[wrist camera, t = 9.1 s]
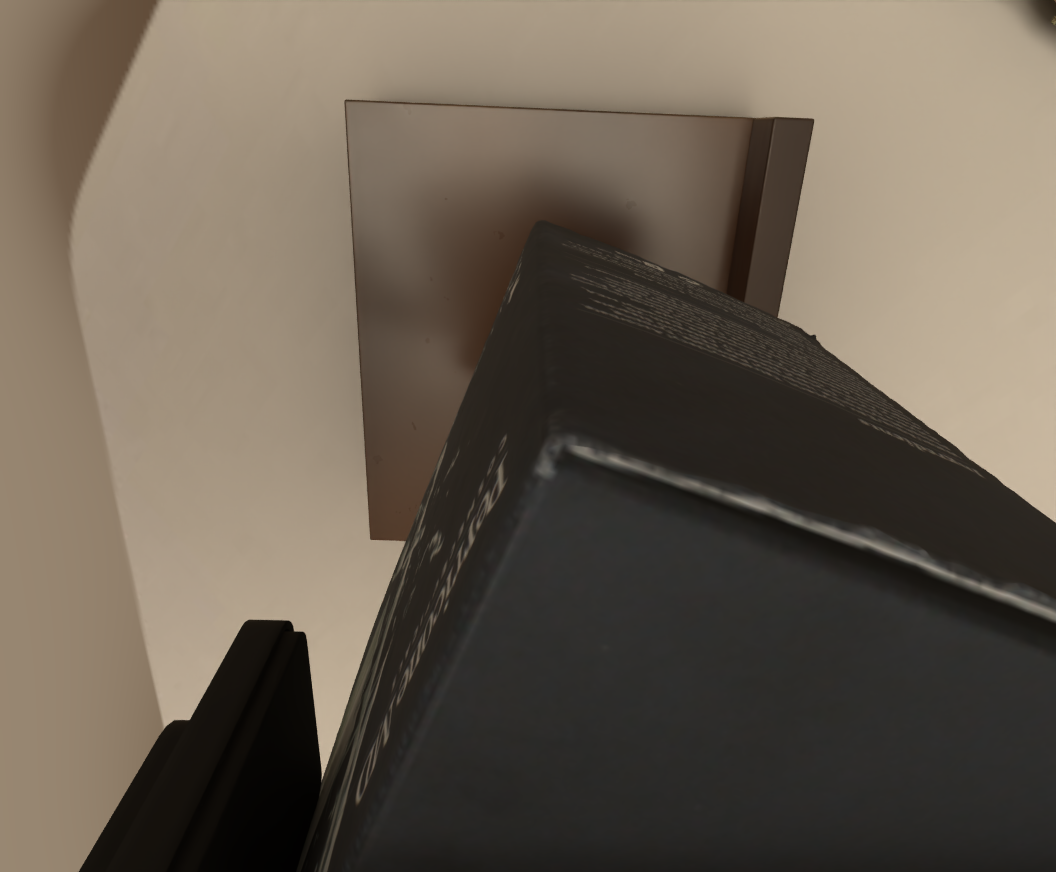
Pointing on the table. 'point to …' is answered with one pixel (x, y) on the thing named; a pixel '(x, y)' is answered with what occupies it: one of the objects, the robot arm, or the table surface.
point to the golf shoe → (1055, 19)
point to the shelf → (505, 224)
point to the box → (696, 612)
